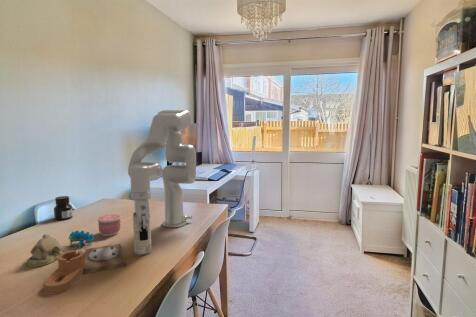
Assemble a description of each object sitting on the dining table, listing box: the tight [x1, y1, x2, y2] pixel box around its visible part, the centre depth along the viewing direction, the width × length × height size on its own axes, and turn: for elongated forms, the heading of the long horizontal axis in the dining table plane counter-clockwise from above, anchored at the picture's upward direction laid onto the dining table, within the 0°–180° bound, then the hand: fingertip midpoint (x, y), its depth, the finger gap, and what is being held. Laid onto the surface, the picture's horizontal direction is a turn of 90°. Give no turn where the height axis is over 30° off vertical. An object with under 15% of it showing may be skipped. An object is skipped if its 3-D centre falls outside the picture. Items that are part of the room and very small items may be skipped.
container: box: [97, 213, 122, 237], centre depth 154 cm, size 10×10×8 cm
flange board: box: [84, 243, 127, 274], centre depth 126 cm, size 14×20×3 cm
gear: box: [67, 230, 95, 248], centre depth 139 cm, size 11×6×10 cm
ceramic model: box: [26, 234, 65, 268], centre depth 125 cm, size 14×11×10 cm
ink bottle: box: [53, 195, 73, 221], centre depth 177 cm, size 10×9×12 cm
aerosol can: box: [132, 211, 152, 257], centre depth 131 cm, size 7×7×20 cm
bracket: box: [43, 250, 85, 295], centre depth 109 cm, size 18×8×7 cm, turn 4°
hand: (142, 236), depth 132 cm, fingers closed on aerosol can, 6 cm apart
